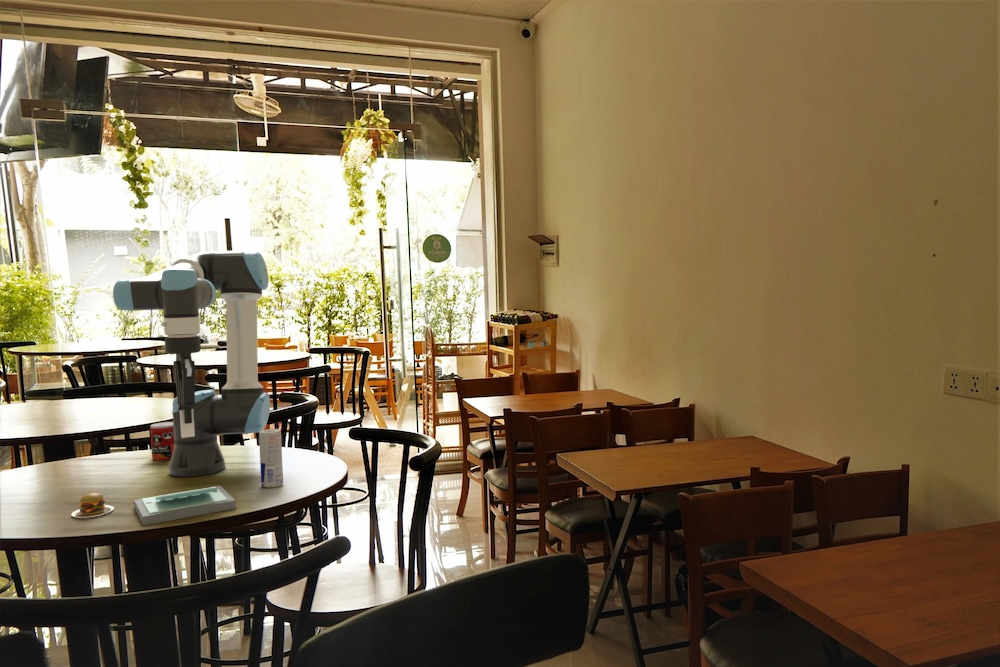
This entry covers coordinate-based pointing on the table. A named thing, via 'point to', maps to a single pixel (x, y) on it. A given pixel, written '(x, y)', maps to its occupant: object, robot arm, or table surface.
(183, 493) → the stub
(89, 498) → the hamburger
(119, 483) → the table surface
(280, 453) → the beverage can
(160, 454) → the canned food
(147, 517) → the board
